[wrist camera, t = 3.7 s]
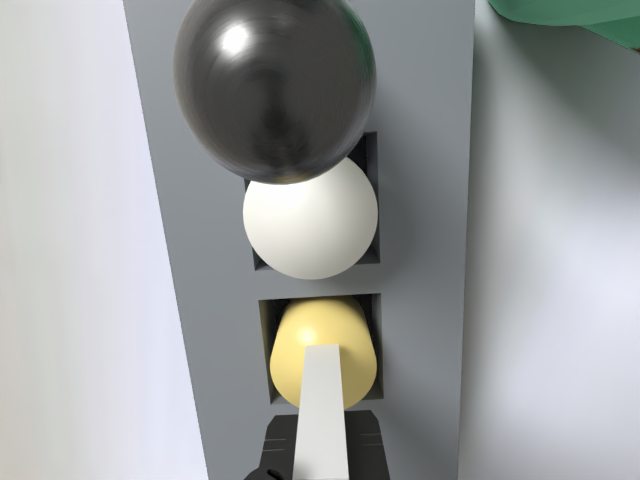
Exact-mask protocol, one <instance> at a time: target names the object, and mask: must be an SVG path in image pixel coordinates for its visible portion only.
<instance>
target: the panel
mask: <svg viewBox="0 0 640 480" xmlns="http://www.w3.org/2000/svg"><path fill="white" fill-rule="evenodd" d="M192 1H193V0H123V4H124V10H125V15H126V21H127V27H128V32H129V38H130V43H131V49H132V54H133V60H134V66H135V71H136V77H137V82H138V88H139V93H140V99H141V105H142V110H143V116H144V121H145V127H146V132H147V138H148V144H149V149H150V155H151V160H152V166H153V172H154V177H155V183H156V188H157V194H158V199H159V205H160V211H161V216H162V222H163V227H164V233H165V238H166V244H167V250H168V255H169V261H170V266H171V272H172V277H173V283H174V289H175V294H176V300H177V305H178V311H179V316H180V322H181V328H182V333H183V339H184V344H185V350H186V356H187V361H188V367H189V372H190V378H191V383H192V389H193V395H194V400H195V406H196V411H197V417H198V422H199V428H200V434H201V439H202V445H203V450H204V456H205V461H206V467H207V473H208V478H209V480H244V479H245V478H246V476H247V475H248V474H249V473H250V472H251V471H253V470H255V469H257V468H258V467H259V464H260V459H261V454H262V451H263V445H264V441H265V435H266V430H267V426H268V425H269V423H270V422H271V420H272V419H273V418H274V416H275V415H292V414H299V408H298V407H296V406H294V405H293V404H291V403H290V402H288V401H287V400H286V399H285V398H284V397H283V396H282V395H281V394H280V393H279V391H278V390H277V389H276V387H275V385H274V383H273V380H272V377H271V372H270V360H271V355H272V351H273V347H274V344H275V340H276V336H277V330H276V321H275V311H274V302H273V299H284V298H302V297H319V296H336V295H354V294H371V302H372V332H373V349H374V353H375V356H376V362H377V371H376V377H375V380H374V383H373V385H372V387H371V389H370V390H369V391H368V393H367V394H366V395H365V396H364V397H363V398H362V399H361V400H360V401H359V402H358V403H356V404H354V405H353V406H351V407H349V408H347V409H344V411H356V410H371V411H372V412H373V414H374V415H375V416H376V418H377V419H378V421H379V426H380V431H381V436H382V441H383V445H384V450H385V455H386V460H387V465H388V470H389V475H390V480H457V478H458V451H459V424H460V397H461V370H462V342H463V315H464V288H465V261H466V233H467V206H468V179H469V152H470V125H471V97H472V70H473V43H474V16H475V0H348V1H349V2H350V3H351V5H352V6H353V7H354V8H355V10H356V11H357V13H358V15H359V16H360V18H361V20H362V21H363V23H364V25H365V28H366V30H367V32H368V35H369V37H370V40H371V44H372V47H373V51H374V56H375V62H376V73H377V85H376V96H375V101H374V106H373V110H372V113H371V116H370V119H369V122H368V125H367V127H366V129H365V131H364V133H363V135H362V136H366V150H367V178H368V180H369V182H370V183H371V185H372V188H373V190H374V193H375V196H376V201H377V208H378V220H377V226H376V231H375V234H374V237H373V239H372V241H371V244H370V246H369V247H368V249H367V250H366V252H365V253H364V254H363V256H362V257H361V258H360V259H359V260H358V261H357V262H356V263H355V264H354V265H352V266H351V267H350V268H348V269H347V270H345V271H343V272H341V273H339V274H337V275H334V276H332V277H328V278H324V279H315V280H306V279H298V278H294V277H290V276H288V275H285V274H283V273H281V272H279V271H277V270H275V269H274V268H272V267H271V266H269V265H268V264H267V263H266V262H265V261H264V260H263V259H262V258H261V257H260V256H259V255H258V254H257V253H256V251H255V250H254V248H253V247H252V245H251V243H250V241H249V239H248V236H247V233H246V230H245V226H244V221H243V205H244V199H245V194H246V192H247V189H248V186H249V184H250V182H251V180H248V179H245V178H243V177H240V176H238V175H236V174H234V173H232V172H230V171H229V170H227V169H226V168H224V167H223V166H221V165H220V164H218V163H217V162H216V161H215V160H214V159H212V158H211V157H210V156H209V155H208V154H207V153H206V152H205V151H204V150H203V149H202V148H201V146H200V145H199V144H198V143H197V141H196V140H195V139H194V137H193V136H192V134H191V133H190V131H189V129H188V128H187V126H186V124H185V122H184V120H183V118H182V116H181V113H180V110H179V107H178V105H177V102H176V97H175V93H174V88H173V79H172V53H173V47H174V40H175V37H176V34H177V30H178V27H179V24H180V22H181V20H182V18H183V16H184V13H185V12H186V10H187V8H188V7H189V5H190V4H191V2H192Z"/></svg>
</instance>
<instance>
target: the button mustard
mask: <svg viewBox="0 0 640 480" xmlns="http://www.w3.org/2000/svg"><path fill="white" fill-rule="evenodd" d="M328 344H339V355H340V368H341V382H342V395H343V408H344V409H347V408H349V407H351V406H353V405H354V404H356V403H358V402H359V401H360V400H361V399H362V398H363V397H364V396H365V395H366V394H367V393H368V391H369V390H370V389H371V387H372V385H373V383H374V380H375V377H376V371H377V362H376V356H375V353H374V349H373V345H372V341H371V337H370V333H369V329H368V325H367V321H366V317H365V314H364V311H363V309H362V307H361V306H360V304H359V303H358V302H357V300H356V299H355V298H354V297H353V296H351V295H336V296H319V297H302V298H292V299H291V300H290V301H289V302H288V304H287V305H286V307H285V308H284V311H283V313H282V317H281V320H280V324H279V328H278V332H277V336H276V340H275V344H274V347H273V351H272V355H271V360H270V372H271V377H272V380H273V383H274V385H275V387H276V389H277V390H278V391H279V393H280V394H281V395H282V396H283V397H284V398H285V399H286V400H287V401H288V402H290V403H291V404H293V405H294V406H296V407H298V408H299V407H300V396H301V386H302V376H303V365H304V355H305V346H309V345H328Z"/></svg>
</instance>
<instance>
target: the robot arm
mask: <svg viewBox="0 0 640 480" xmlns="http://www.w3.org/2000/svg"><path fill="white" fill-rule="evenodd" d="M244 480H390V475H389V470H388V465H387V460H386V455H385V450H384V445H383V441H382V436H381V431H380V426H379V421H378V419H377V418H376V416H375V415H374V414H373V412H372V411H371V410H356V411H344V408H343V395H342V382H341V368H340V355H339V344H328V345H309V346H305V355H304V365H303V376H302V386H301V396H300V407H299V414H292V415H275V416H274V418H273V419H272V420H271V422H270V423H269V425H268V426H267V430H266V435H265V441H264V445H263V451H262V454H261V459H260V464H259V467H258V468H257V469H255V470H253V471H251V472H250V473H249V474H248V475H247V476H246V478H245V479H244Z"/></svg>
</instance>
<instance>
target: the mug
mask: <svg viewBox="0 0 640 480" xmlns="http://www.w3.org/2000/svg"><path fill="white" fill-rule="evenodd" d="M488 1H489V3H490V4H491V5H492V7H493V8H494V9H495V10H496V11H497V13H498V14H500V15H502V16H503V17H505V18H507V19H509V20H511V21H515V22H522V23H530V24H539V25H548V26H568V25H579V26H581V27H583V28H585V29H587V30H590V31H592V32H594V33H596V34H598V35H600V36H602V37H604V38H606V39H609V40H611V41H613V42H615V43H617V44H619V45H621V46H623V47H626V48H628V49H630V50H632V51H634V52H636V53H638V54H640V0H488Z"/></svg>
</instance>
